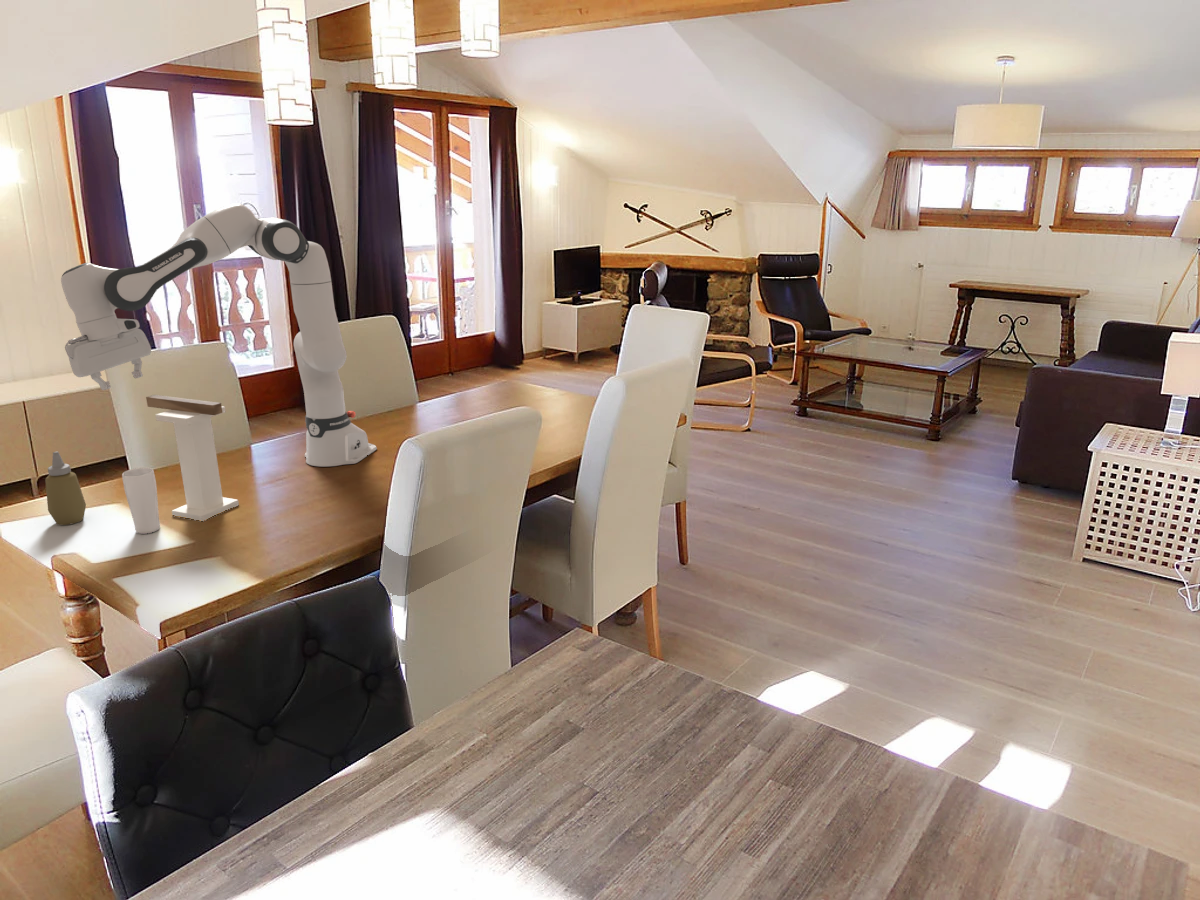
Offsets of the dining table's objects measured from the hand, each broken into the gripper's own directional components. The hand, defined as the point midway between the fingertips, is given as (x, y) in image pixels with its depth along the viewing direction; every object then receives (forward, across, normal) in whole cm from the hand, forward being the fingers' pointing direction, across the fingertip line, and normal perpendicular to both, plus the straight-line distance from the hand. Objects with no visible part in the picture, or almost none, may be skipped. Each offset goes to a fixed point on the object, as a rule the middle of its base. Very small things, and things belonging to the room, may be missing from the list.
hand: (122, 383), depth 218 cm
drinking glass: (+33, -18, -13) cm, 40 cm away
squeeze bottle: (+28, -21, +9) cm, 37 cm away
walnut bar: (+9, 0, -19) cm, 21 cm away
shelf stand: (+35, -3, -16) cm, 38 cm away
